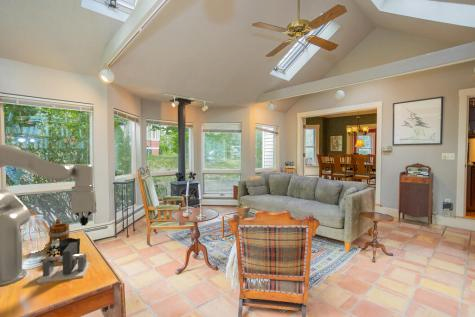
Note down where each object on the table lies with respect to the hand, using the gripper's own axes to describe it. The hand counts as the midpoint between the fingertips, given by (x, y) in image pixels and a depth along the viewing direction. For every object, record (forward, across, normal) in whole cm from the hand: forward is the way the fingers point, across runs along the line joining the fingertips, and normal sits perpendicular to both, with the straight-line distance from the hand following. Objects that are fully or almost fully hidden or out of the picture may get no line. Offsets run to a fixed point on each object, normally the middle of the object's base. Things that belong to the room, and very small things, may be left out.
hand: (84, 224), depth 118 cm
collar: (+21, -6, -2) cm, 22 cm away
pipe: (+23, -8, -2) cm, 24 cm away
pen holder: (+23, -11, +16) cm, 30 cm away
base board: (+23, -8, -2) cm, 24 cm away
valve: (+23, -20, +25) cm, 40 cm away
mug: (+23, -23, +38) cm, 50 cm away
